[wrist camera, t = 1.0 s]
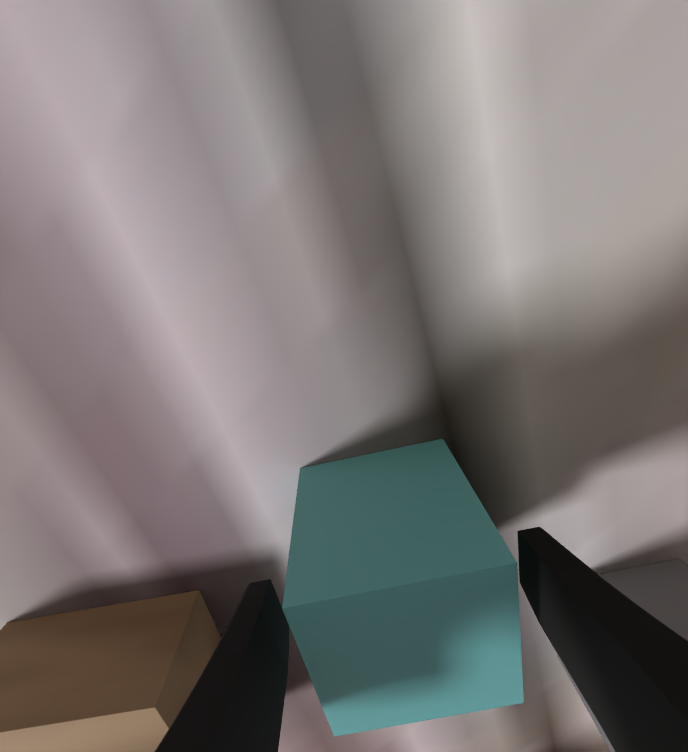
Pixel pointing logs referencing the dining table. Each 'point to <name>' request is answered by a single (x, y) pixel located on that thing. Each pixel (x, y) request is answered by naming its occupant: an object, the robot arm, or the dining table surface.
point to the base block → (102, 674)
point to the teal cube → (401, 591)
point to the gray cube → (651, 601)
